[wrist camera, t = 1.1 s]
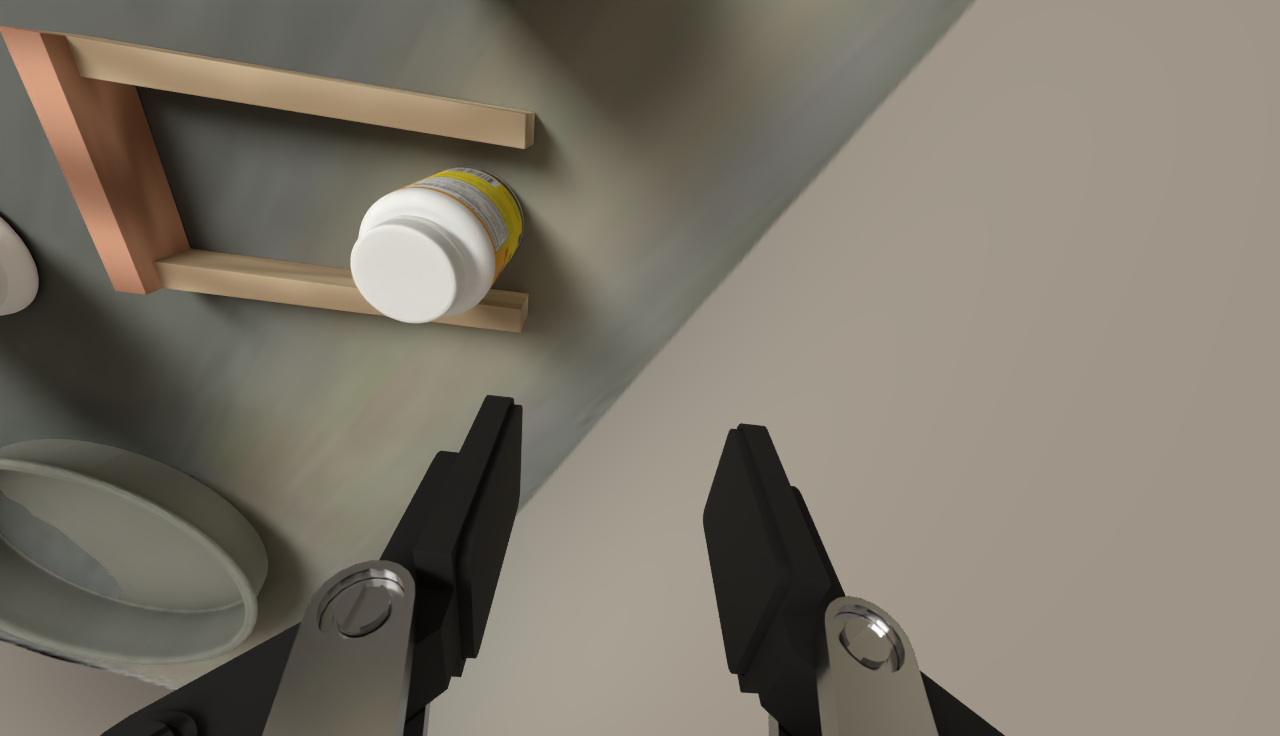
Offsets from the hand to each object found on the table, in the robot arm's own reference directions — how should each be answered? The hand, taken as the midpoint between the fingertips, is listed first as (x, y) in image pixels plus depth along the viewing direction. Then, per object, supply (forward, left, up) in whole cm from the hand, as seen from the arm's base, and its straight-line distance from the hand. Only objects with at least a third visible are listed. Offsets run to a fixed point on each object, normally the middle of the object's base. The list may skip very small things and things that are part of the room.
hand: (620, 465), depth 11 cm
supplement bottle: (0, -8, -20) cm, 21 cm away
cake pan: (+31, -38, -20) cm, 53 cm away
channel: (0, -16, -19) cm, 25 cm away
